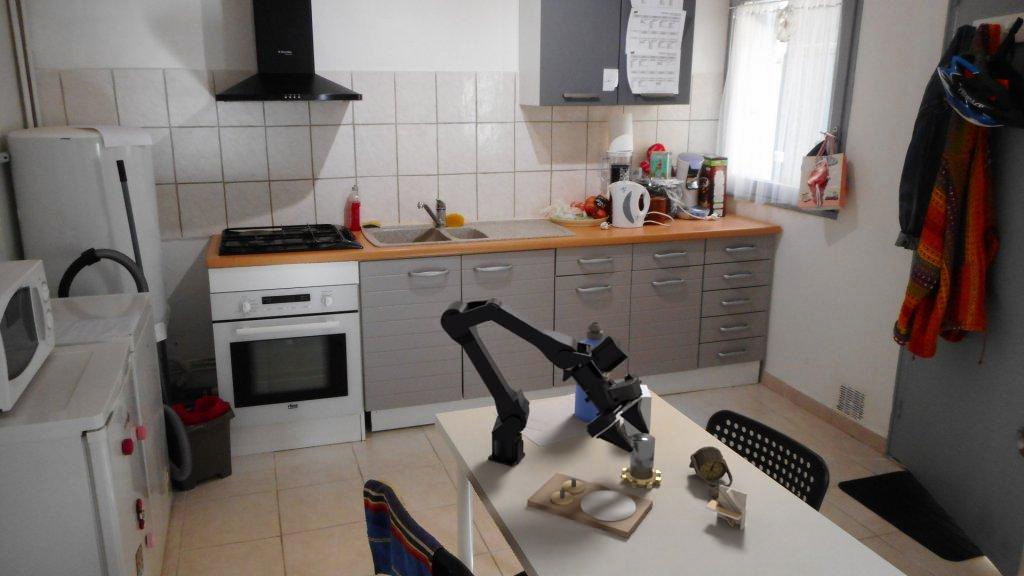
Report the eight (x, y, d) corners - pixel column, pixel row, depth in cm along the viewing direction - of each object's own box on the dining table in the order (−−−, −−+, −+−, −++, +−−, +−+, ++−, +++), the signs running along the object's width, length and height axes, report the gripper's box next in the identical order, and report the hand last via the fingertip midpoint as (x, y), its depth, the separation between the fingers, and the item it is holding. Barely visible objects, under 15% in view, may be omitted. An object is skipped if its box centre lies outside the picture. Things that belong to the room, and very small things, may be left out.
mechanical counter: (740, 451, 165) (695, 436, 168) (741, 474, 153) (693, 457, 156) (730, 480, 167) (686, 464, 169) (730, 505, 155) (682, 488, 157)
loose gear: (614, 482, 163) (616, 441, 160) (630, 465, 170) (632, 426, 167) (652, 493, 158) (655, 451, 156) (666, 475, 166) (669, 435, 163)
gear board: (527, 505, 154) (527, 491, 153) (556, 477, 165) (557, 464, 164) (627, 537, 143) (628, 523, 142) (652, 505, 154) (653, 491, 153)
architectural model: (737, 536, 145) (741, 501, 143) (704, 523, 149) (706, 489, 147) (744, 528, 147) (748, 494, 145) (711, 515, 151) (714, 482, 149)
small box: (650, 437, 183) (652, 397, 181) (626, 437, 184) (628, 397, 181) (645, 422, 191) (647, 384, 188) (622, 422, 191) (624, 383, 188)
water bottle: (572, 421, 192) (574, 328, 185) (575, 406, 201) (578, 316, 194) (609, 424, 190) (613, 330, 184) (610, 408, 199) (614, 318, 192)
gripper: (601, 380, 153) (650, 442, 150) (635, 352, 168) (681, 408, 166) (566, 407, 159) (613, 468, 156) (602, 378, 174) (645, 432, 172)
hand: (639, 442), depth 162 cm, fingers open, 9 cm apart
